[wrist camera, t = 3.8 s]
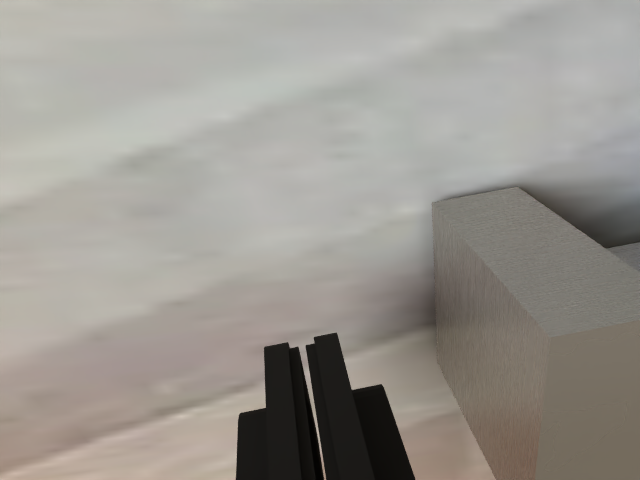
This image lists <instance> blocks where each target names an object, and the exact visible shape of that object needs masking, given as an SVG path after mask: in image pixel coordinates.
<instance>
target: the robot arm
mask: <svg viewBox="0 0 640 480" xmlns="http://www.w3.org/2000/svg"><path fill="white" fill-rule="evenodd" d="M314 342H315V344H310V345H306V351H307V358H308V364H309V370H310V377H311V383H312V390H313V396H314V403H315V409H316V415H317V422H318V428H319V435H320V441H321V448H322V454H323V460H324V467H325V473H326V480H415V477H414V474H413V471H412V468H411V465H410V462H409V460H408V457H407V454H406V451H405V448H404V445H403V442H402V439H401V436H400V433H399V430H398V428H397V425H396V422H395V419H394V416H393V413H392V410H391V407H390V404H389V401H388V398H387V396H386V393H385V390H384V387H383V386H382V384H380V385H375V386H370V387H365V388H360V389H356V390H352V389H351V386H350V382H349V378H348V374H347V370H346V366H345V362H344V358H343V354H342V351H341V347H340V343H339V339H338V335H337V333H332V334H327V335H322V336H317V337H314ZM264 361H265V392H266V408H263V409H258V410H254V411H249V412H244V413H240V414H239V419H238V440H237V468H236V480H324V477H323V470H322V463H321V457H320V450H319V443H318V437H317V432H316V427H315V422H314V417H313V413H312V408H311V403H310V399H309V394H308V389H307V385H306V380H305V375H304V371H303V366H302V361H301V356H300V352H299V348H298V347H295V348H290V347H289V344H288V342H287V343H282V344H277V345H272V346H267V347H264Z"/></svg>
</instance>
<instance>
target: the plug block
mask: <svg viewBox="0 0 640 480" xmlns="http://www.w3.org/2000/svg"><path fill="white" fill-rule="evenodd" d="M432 221H433V249H434V278H435V306H436V335H437V363H438V365H439V367H440V369H441V371H442V373H443V375H444V377H445V379H446V381H447V383H448V385H449V387H450V389H451V391H452V393H453V395H454V397H455V399H456V401H457V403H458V405H459V407H460V409H461V411H462V413H463V415H464V417H465V419H466V421H467V423H468V425H469V427H470V429H471V431H472V433H473V435H474V437H475V439H476V441H477V443H478V445H479V447H480V449H481V451H482V453H483V455H484V456H485V458H486V460H487V462H488V464H489V466H490V468H491V470H492V472H493V474H494V476H495V478H496V480H640V242H638V243H633V244H628V245H622V246H617V247H612V248H607V249H605V248H604V247H602V246H601V245H600V244H598V243H597V242H595V241H594V240H593V239H591V238H590V237H588V236H587V235H585V234H584V233H583V232H581V231H580V230H578V229H577V228H575V227H574V226H573V225H571V224H570V223H568V222H567V221H566V220H564V219H563V218H561V217H560V216H558V215H557V214H556V213H554V212H553V211H551V210H550V209H548V208H547V207H546V206H544V205H543V204H541V203H540V202H539V201H537V200H536V199H534V198H533V197H531V196H530V195H529V194H527V193H526V192H524V191H523V190H522V189H520V188H519V187H513V188H508V189H502V190H497V191H492V192H486V193H481V194H475V195H470V196H464V197H459V198H453V199H448V200H443V201H437V202H432Z"/></svg>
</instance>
